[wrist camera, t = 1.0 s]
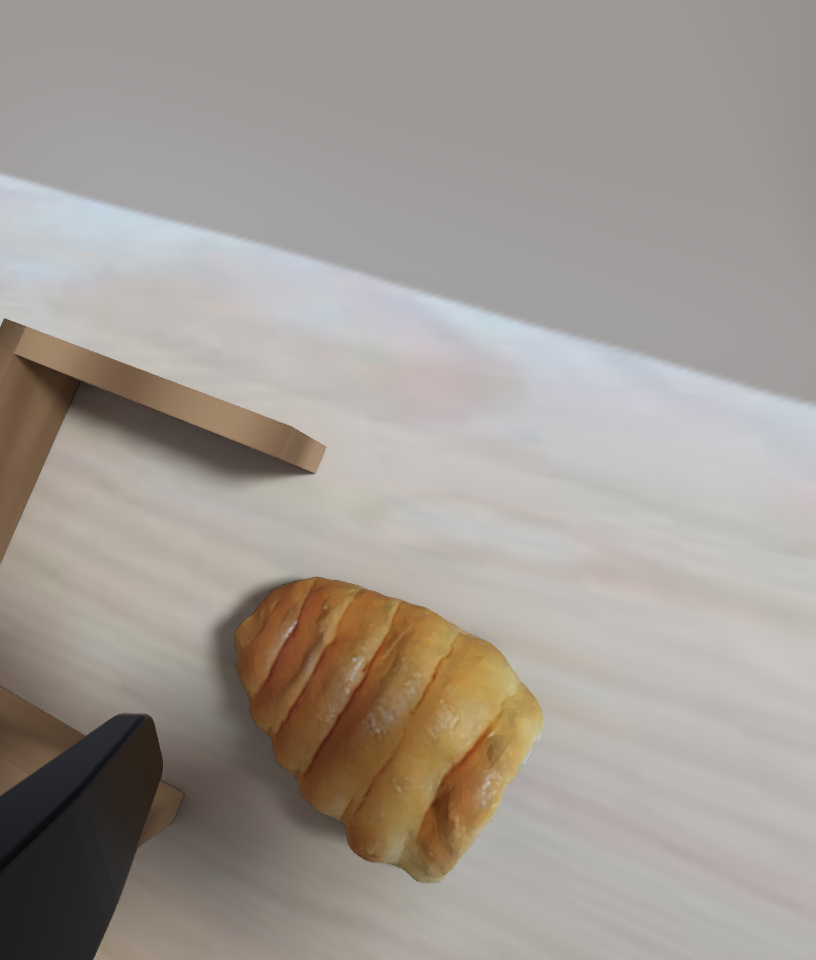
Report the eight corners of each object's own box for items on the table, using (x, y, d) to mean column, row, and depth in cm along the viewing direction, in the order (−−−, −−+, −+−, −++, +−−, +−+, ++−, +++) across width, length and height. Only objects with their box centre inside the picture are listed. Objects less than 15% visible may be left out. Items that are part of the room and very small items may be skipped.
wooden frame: (326, 446, 20) (291, 426, 17) (172, 822, 19) (109, 867, 17) (71, 349, 23) (4, 318, 20) (-73, 674, 22) (-164, 691, 19)
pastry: (218, 690, 20) (148, 717, 16) (324, 524, 20) (279, 513, 17) (447, 879, 18) (425, 961, 14) (566, 689, 18) (576, 720, 14)
